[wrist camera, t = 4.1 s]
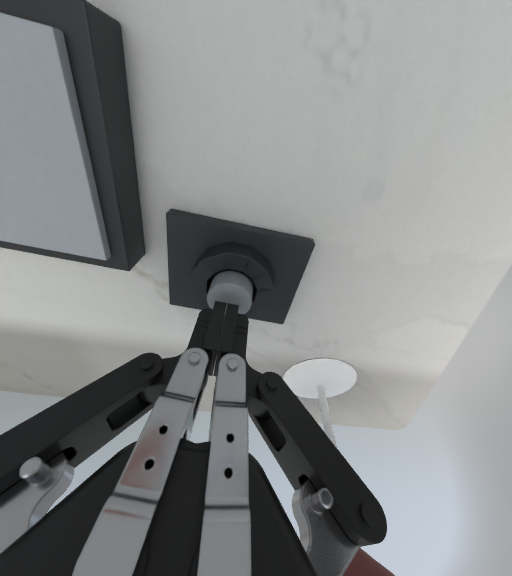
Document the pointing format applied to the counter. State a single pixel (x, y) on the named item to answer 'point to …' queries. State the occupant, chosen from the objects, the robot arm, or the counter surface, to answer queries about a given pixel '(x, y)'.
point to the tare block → (234, 262)
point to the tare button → (231, 290)
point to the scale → (66, 135)
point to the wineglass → (322, 384)
